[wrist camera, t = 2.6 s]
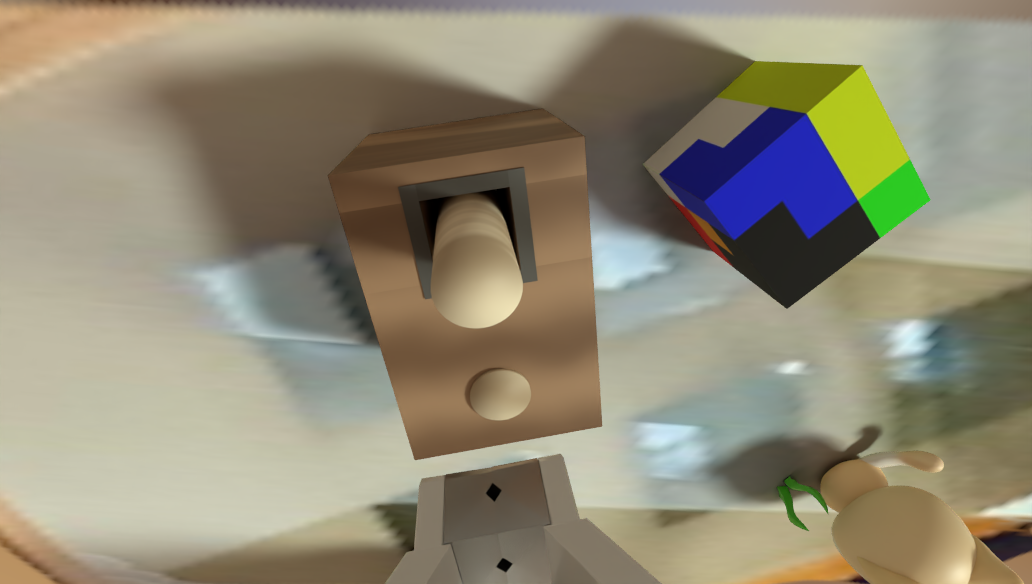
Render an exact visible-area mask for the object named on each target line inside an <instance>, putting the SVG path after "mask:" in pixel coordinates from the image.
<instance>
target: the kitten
mask: <svg viewBox="0 0 1032 584" xmlns="http://www.w3.org/2000/svg"><path fill="white" fill-rule="evenodd" d="M896 465H906V466H911V467H914V468H917V469H920V470H923V471H926V472H939V471H941V470H942V469H943V467H944V464H943V461H942V460H941V459H940V458H939V457H937V456H936V455H934V454H931V453H928V452H923V451H905V452H879V453H874V454H870V455H867V456H865V457H862V458H860V459H857V460H849V461H845V462H842V463H840V464H838V465H836V466H834V467H833V468H831V469H830V470H829V471H828V472H827V473H826V474H825V475H824V476H823V478H822V480H821V486H820V489H821V494H820V493H819V492H818V491H817V490H815V489H814V488H812V487H809V486H805V485H801V484H798V483H797V481H796V480H793V479H791V478H790V476H789V477H788V478H787V479H786V480H784V482H785V483H786V485H787V486H788V487H789V488H790V489H792V490H797V491H807V492H808V493H810V494H812V495H813V496H814V497H815V498H816V499H817V500H818V501H819V503H820V504H821V505H822V506H823V507H824V509H825V510H826V512H827V513H828V509H827V505H828V506H829V507H830V508H832V509H833V510H835V511H837V512H839V514H838V515H837V517H836V518H835V520H834V522H833V525H832V538H833V541H834V543H835V546H836V547H837V549H838V551H839V552H840V553H841V555H842V556H843V557H844V559H845V560H846V561H847V562H848V563H849V564H850V565H851V566H852V567H853V568H854V569H855V570H856V571H857V572H858V573H859V574H860V575H861V576H862V577H863V578H864V579H866V580H867V581H868V582H869V583H871V584H1024V582H1023V581H1022V579H1021V578H1020V577H1019V576H1018V575H1017V574H1016V573H1015V572H1014V571H1013V570H1012V569H1010V568H1009V567H1008V566H1007V565H1006V564H1004V563H1003V562H1002V561H1001V560H1000V559H999V558H997V557H996V556H995V555H994V554H993V553H992V552H991V551H990V550H989V548H988V547H987V546H986V545H985V544H984V543H983V542H981V541H980V540H979V539H978V538H977V537H975V536H974V535H972V534H971V533H970V531H969V530H968V528H967V527H966V525H965V524H964V522H963V521H962V520H961V518H960V517H959V516H958V515H957V514H956V513H955V512H954V510H953V509H952V508H950V507H949V506H948V505H947V504H946V503H945V502H943V501H942V500H941V499H939V498H938V497H936V496H935V495H933V494H931V493H929V492H927V491H924V490H922V489H918V488H915V487H909V486H888V482H887V480H886V477H885V475H884V474H883V472H882V471H881V469H880V468H879V467H888V466H896ZM787 486H779V487H777V488H778V491H779V497H780V498H781V499H782V500H783V502H784V503H785V505H786V509H787V515H788V518H789V520H790V521H791V522H792V523H793V524H794V525H796V526H798V527H800V528H802V529H804V530H807V531H809V530H808V529H807V528H806V527H805V525H804V524H803V523H802V522H801V521H800V520H799V519H798V518H797V516H796V515H795V513H794V509H793V501H792V497H791V494H790V492H789V490H788V488H787ZM826 504H827V505H826Z"/></svg>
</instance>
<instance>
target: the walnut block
mask: <svg viewBox="0 0 1032 584" xmlns="http://www.w3.org/2000/svg"><path fill="white" fill-rule="evenodd" d="M328 178H329V181H330V185H331V188H332V191H333V194H334V198H335V201H336V204H337V208H338V211H339V214H340V217H341V221H342V224H343V227H344V230H345V234H346V237H347V240H348V243H349V247H350V250H351V253H352V257H353V260H354V263H355V266H356V270H357V273H358V276H359V279H360V283H361V286H362V289H363V292H364V296H365V299H366V302H367V305H368V309H369V312H370V315H371V319H372V322H373V325H374V328H375V332H376V335H377V338H378V341H379V345H380V348H381V351H382V354H383V358H384V361H385V364H386V368H387V371H388V374H389V377H390V381H391V384H392V387H393V390H394V394H395V397H396V400H397V403H398V407H399V410H400V413H401V417H402V420H403V423H404V426H405V430H406V433H407V436H408V439H409V443H410V446H411V449H412V452H413V456H414V459H415V460H419V459H424V458H430V457H435V456H441V455H446V454H452V453H457V452H463V451H469V450H474V449H480V448H485V447H491V446H496V445H502V444H507V443H513V442H518V441H524V440H530V439H535V438H541V437H546V436H552V435H557V434H563V433H568V432H574V431H579V430H585V429H590V428H596V427H602V415H601V398H600V382H599V365H598V349H597V332H596V316H595V300H594V283H593V267H592V250H591V234H590V218H589V201H588V185H587V168H586V152H585V136H584V135H582V134H581V133H579V132H578V131H576V130H575V129H573V128H572V127H570V126H569V125H567V124H566V123H564V122H563V121H561V120H560V119H558V118H556V117H555V116H553V115H552V114H550V113H549V112H547V111H546V110H544V109H536V110H529V111H523V112H516V113H510V114H503V115H496V116H490V117H483V118H476V119H470V120H463V121H456V122H450V123H443V124H436V125H430V126H423V127H416V128H410V129H403V130H397V131H390V132H383V133H377V134H370V135H368V136H367V137H366V138H365V139H364V140H363V141H362V142H361V143H360V144H359V145H358V146H357V147H356V148H355V149H354V150H353V151H352V152H351V153H350V154H349V155H348V156H347V157H346V158H345V159H344V160H343V161H342V162H341V163H340V164H339V165H338V166H337V167H336V168H335V169H334V170H333V171H332V172H331V173H330V174H329V175H328ZM493 189H499V193H500V200H501V204H500V205H501V209H502V212H503V216H504V219H505V222H506V226H507V229H508V232H509V236H510V239H511V242H512V246H513V249H514V252H515V256H516V259H517V263H518V266H519V269H520V273H521V276H522V281H523V292H522V296H521V299H520V302H519V304H518V306H517V307H516V309H515V310H514V311H513V312H512V314H511V315H510V316H508V317H507V318H506V319H505V320H503V321H501V322H500V323H498V324H496V325H493V326H490V327H485V328H466V327H462V326H459V325H456V324H454V323H452V322H450V321H449V320H447V319H446V318H445V317H444V316H443V315H442V314H441V313H440V312H439V311H438V309H437V308H436V306H435V304H434V302H433V300H432V296H431V276H432V266H433V256H434V246H435V236H436V226H437V216H438V205H439V198H442V197H449V196H455V195H461V194H468V193H474V192H480V191H487V190H493Z"/></svg>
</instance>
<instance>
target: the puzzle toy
mask: <svg viewBox="0 0 1032 584" xmlns="http://www.w3.org/2000/svg"><path fill="white" fill-rule="evenodd" d="M643 165H644V167H645V168H646V169H647V170H648V172H649V173H650V174H651V175H652V177H653V178H654V179H655V180H656V182H657V183H658V184H659V185H660V186H661V188H662V189H663V190H664V191H665V193H666V194H667V195H668V196H669V198H670V199H671V200H672V201H673V202H674V204H675V205H676V206H677V207H678V209H679V210H680V211H681V212H682V214H683V215H684V216H685V217H686V218H687V220H688V221H689V222H690V223H691V225H692V226H693V227H694V228H695V230H696V231H697V232H698V233H699V235H700V236H701V237H702V238H703V239H704V241H705V242H706V243H707V244H708V246H709V247H710V248H711V249H712V251H713V252H715V253H716V254H717V255H718V256H720V257H721V258H722V259H724V260H725V261H726V262H727V263H729V264H730V265H731V266H733V267H734V268H735V269H736V270H738V271H739V272H740V273H742V274H743V275H744V276H745V277H747V278H748V279H749V280H750V281H752V282H753V283H754V284H756V285H757V286H758V287H759V288H761V289H762V290H763V291H765V292H766V293H767V294H768V295H770V296H771V297H772V298H774V299H775V300H776V301H777V302H779V303H780V304H781V305H783V306H784V307H785V308H786V309H787V308H789V307H790V306H791V305H793V304H794V303H795V302H797V301H798V300H799V299H801V298H802V297H803V296H805V295H806V294H807V293H809V292H810V291H811V290H813V289H814V288H815V287H816V286H818V285H819V284H820V283H822V282H823V281H824V280H826V279H827V278H828V277H830V276H831V275H832V274H834V273H835V272H836V271H838V270H839V269H840V268H842V267H843V266H844V265H845V264H847V263H848V262H849V261H851V260H852V259H853V258H855V257H856V256H857V255H859V254H860V253H861V252H863V251H864V250H865V249H867V248H868V247H869V246H871V245H872V244H873V243H874V242H876V241H877V240H878V239H880V238H881V237H882V236H884V235H885V234H886V233H888V232H889V231H890V230H892V229H893V228H894V227H896V226H897V225H898V224H900V223H901V222H902V221H903V220H905V219H906V218H907V217H909V216H910V215H911V214H913V213H914V212H915V211H917V210H918V209H919V208H921V207H922V206H923V205H925V204H926V203H927V202H929V201H930V198H929V196H928V194H927V192H926V190H925V188H924V186H923V184H922V182H921V180H920V178H919V176H918V174H917V172H916V170H915V168H914V166H913V164H912V162H911V160H910V158H909V156H908V155H907V153H906V151H905V149H904V147H903V145H902V143H901V141H900V139H899V137H898V135H897V133H896V131H895V129H894V127H893V125H892V123H891V121H890V119H889V117H888V115H887V113H886V111H885V109H884V107H883V105H882V103H881V101H880V99H879V97H878V95H877V93H876V91H875V89H874V87H873V85H872V83H871V81H870V79H869V77H868V76H867V74H866V72H865V70H864V68H863V66H862V65H840V64H814V63H788V62H763V61H755V62H754V63H753V64H752V65H751V66H750V67H748V68H747V69H746V70H745V71H744V72H743V73H742V74H741V75H740V76H739V77H737V78H736V79H735V80H734V81H733V82H732V83H731V84H730V85H729V86H728V87H727V88H725V89H724V90H723V91H722V92H721V93H720V94H719V95H718V96H717V97H716V98H715V99H713V100H712V101H711V102H710V103H709V104H708V105H707V106H706V107H705V108H704V109H702V110H701V111H700V112H699V113H698V114H697V115H696V116H695V117H694V118H693V119H692V120H690V121H689V122H688V123H687V124H686V125H685V126H684V127H683V128H682V129H681V130H680V131H678V132H677V133H676V134H675V135H674V136H673V137H672V138H671V139H670V140H669V141H667V142H666V143H665V144H664V145H663V146H662V147H661V148H660V149H659V150H658V151H657V152H655V153H654V154H653V155H652V156H651V157H650V158H649V159H648V160H647V161H646V162H645V163H643Z"/></svg>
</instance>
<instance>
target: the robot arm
mask: <svg viewBox="0 0 1032 584" xmlns="http://www.w3.org/2000/svg"><path fill="white" fill-rule="evenodd" d="M385 584H662V583H660V582H659V581H658V580H657V579H656V578H655V577H654V576H652V575H651V574H650V573H649V572H648V571H647V570H646V569H644V568H643V567H642V566H641V565H640V564H639V563H638V562H636V561H635V560H634V559H633V558H632V557H631V556H630V555H628V554H627V553H626V552H625V551H624V550H623V549H622V548H620V547H619V546H618V545H617V544H616V543H615V542H614V541H612V540H611V539H610V538H609V537H608V536H607V535H606V534H604V533H603V532H602V531H601V530H600V529H599V528H598V527H596V526H595V525H594V524H593V523H592V522H591V521H590V520H588V519H587V518H586V519H580V518H579V514H578V511H577V507H576V503H575V499H574V496H573V492H572V488H571V484H570V481H569V477H568V473H567V469H566V466H565V462H564V458H563V456H562V455H561V454H557V455H552V456H546V457H541V458H538V459H537V458H535V459H530V460H525V461H520V462H514V463H509V464H504V465H499V466H494V467H491V468H485V469H478V470H472V471H466V472H459V473H453V474H446V475H443V476H436V477H430V478H423V479H422V480H421V482H420V485H419V495H418V507H417V520H416V532H415V544H414V551H409V552H406V554H405V555H404V557H403V558H402V559H401V561H400V562H399V564H398V565H397V567H396V568H395V569H394V571H393V572H392V574H391V575H390V577H389V578H388V579H387V581H386V582H385Z"/></svg>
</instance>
